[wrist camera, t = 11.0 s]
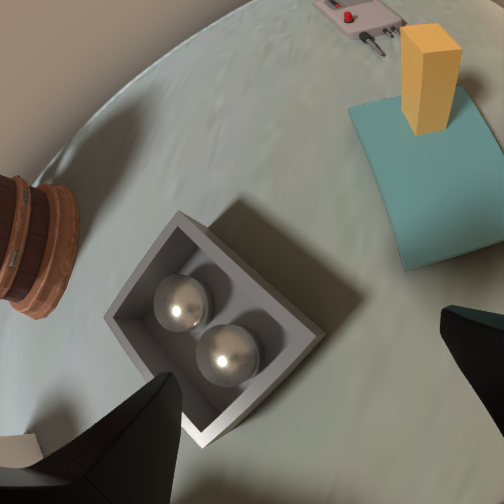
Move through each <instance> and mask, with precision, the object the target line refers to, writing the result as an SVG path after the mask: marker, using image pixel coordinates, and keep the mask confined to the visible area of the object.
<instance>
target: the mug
mask: <svg viewBox="0 0 504 504" xmlns="http://www.w3.org/2000/svg"><path fill="white" fill-rule="evenodd" d="M78 232H79V212H78V204H77V200H76V198H75V196H74V194H73V192H72V190H71V189H69V188H67V187H65V186H63V185H57V186H53V185H50V184H48V183H45V184H42V185H39V186H37V187H36V188H34V187H31V186H29V185H28V182H27V181H26V180H24V179H22V178H20V176H18V175H17V176H15V177H13V178H8V177H5V176H2V175H0V299H5V300H8V301H9V302H10V304H11V306H12V308H13V309H15V310H17V311H18V312H21V313H24V314H26V315H27V316H29V317H31V318H33V319H35V320H37V319H41V318H45V317H46V316H47V315H48V314H49V313H50V312H51V311H53V310H54V309H55V308H56V306H57V304H58V302H59V300H60V298H61V297H62V295H63V293H64V291H65V289H66V286H67V283H68V280H69V277H70V274H71V271H72V268H73V264H74V259H75V254H76V249H77V244H78Z"/></svg>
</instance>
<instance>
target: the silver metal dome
mask: <svg viewBox="0 0 504 504" xmlns="http://www.w3.org/2000/svg"><path fill="white" fill-rule="evenodd" d="M214 311H215V298H214V294H213V292H212V290H211V288H210V287H209V286H208V284H206V283H205V282H204V281H202V280H200V279H197V278H193V277H190V276H186V275H183V274H173V275H170V276H168V277H167V278H165V279H164V280H163V281H162V282H161V283H160V285H159V286H158V288H157V290H156V292H155V296H154V312H155V315H156V318H157V320H158V322H159V323H160V324H161V325H162V326H163V327H164V328H165V329H167V330H169V331H172V332H197V331H200V330H202V329H203V328H205V327H206V326H207V325H208V324H209V322H210V321H211V319H212V317H213V315H214Z"/></svg>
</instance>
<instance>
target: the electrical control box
mask: <svg viewBox="0 0 504 504" xmlns="http://www.w3.org/2000/svg"><path fill="white" fill-rule="evenodd" d="M312 5H313V6H314V7H315V8H317V9H318V10H319V11H320V12H321V13H322V14H323V15H324V16H325V17H326V18H327V19H328V20H330V21H331V22H332V23H333V24H334V25H335V26H336V27H337V28H338V29H339V30H340V31H341V32H342V33H343V34H344V35H345V36H346V37H347V38H348V39H349V40H362V41H363V42H364V43H368V44H369V45H370V46H371V47H372V48H373V49H375V50H376V51H377V52H378V53H379V54H380V55H381V56H382V55H383V53H382V52H381V51H380V50H379V49H378V48H377V46H376V45H375V44H374V43H373V42H372V41H371V37H375V36H380V35H384V34H387V35H388V36H389V37H391V34H390V33H391V32H396V33H397V34H398V35H399V36H400V37H401V34H400V33H399V32H398V31H397V30H400V27H402V19H401V18H400V17H399V16H398V15H397V14H395V13H394V12H393V11H391V10H390V9H389V8H388V7H386V6H385V5H384V4H382V3H381V2H380V1H378V0H316V1H313V2H312Z"/></svg>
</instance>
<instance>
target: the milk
mask: <svg viewBox="0 0 504 504" xmlns="http://www.w3.org/2000/svg"><path fill="white" fill-rule="evenodd" d="M43 458H44V457H43V455H42V452H41V449H40V447H39V444H38V441H37V438H36V435H35V434H34V433H33V434H23V435H13V436H2V437H0V467H7V468H24V467H28V466H31V465H33V464H35V463H36V462H38V461H40V460H42V459H43Z"/></svg>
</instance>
